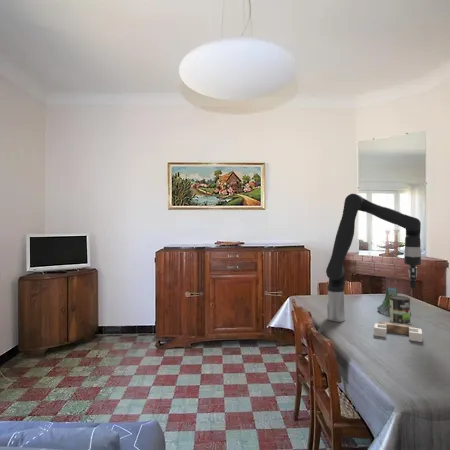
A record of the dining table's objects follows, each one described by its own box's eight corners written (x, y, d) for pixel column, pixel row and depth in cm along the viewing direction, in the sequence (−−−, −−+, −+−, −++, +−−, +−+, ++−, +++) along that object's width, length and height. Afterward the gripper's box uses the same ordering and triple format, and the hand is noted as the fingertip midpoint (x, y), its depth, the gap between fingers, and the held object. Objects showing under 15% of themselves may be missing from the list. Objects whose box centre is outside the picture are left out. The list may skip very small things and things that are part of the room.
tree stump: (380, 317, 192) (377, 287, 196) (376, 316, 210) (373, 288, 215) (414, 317, 186) (410, 286, 191) (407, 316, 205) (403, 288, 209)
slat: (378, 330, 168) (378, 323, 168) (379, 328, 171) (378, 321, 171) (413, 335, 160) (413, 327, 160) (413, 333, 163) (413, 325, 163)
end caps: (374, 335, 161) (374, 327, 161) (375, 330, 167) (375, 323, 167) (422, 342, 151) (422, 333, 150) (421, 336, 157) (421, 328, 157)
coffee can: (415, 324, 177) (414, 298, 177) (399, 326, 174) (399, 300, 174) (400, 318, 187) (399, 294, 187) (385, 320, 184) (385, 296, 184)
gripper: (404, 253, 174) (404, 283, 174) (404, 256, 161) (404, 288, 162) (420, 254, 170) (420, 284, 171) (421, 257, 158) (421, 289, 158)
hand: (412, 286), depth 166 cm, fingers open, 8 cm apart
